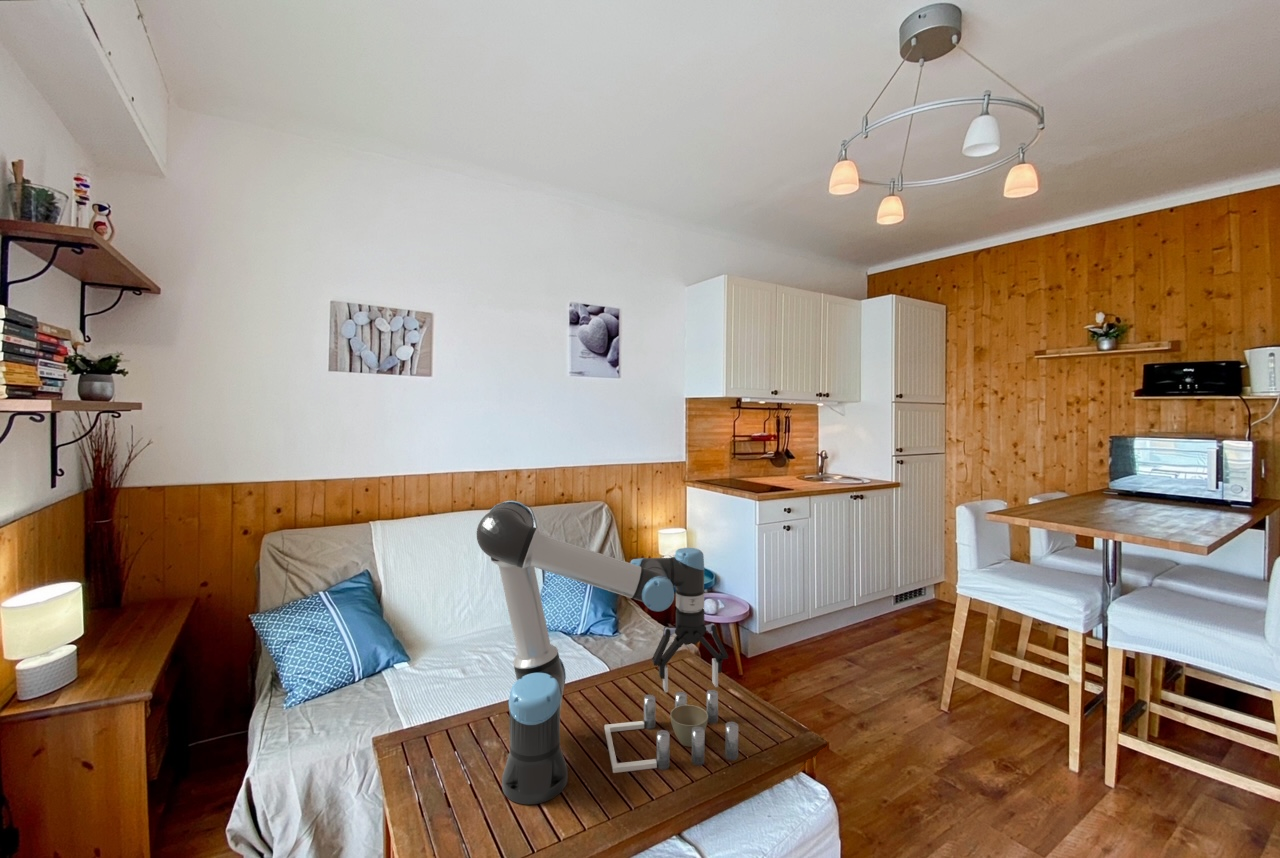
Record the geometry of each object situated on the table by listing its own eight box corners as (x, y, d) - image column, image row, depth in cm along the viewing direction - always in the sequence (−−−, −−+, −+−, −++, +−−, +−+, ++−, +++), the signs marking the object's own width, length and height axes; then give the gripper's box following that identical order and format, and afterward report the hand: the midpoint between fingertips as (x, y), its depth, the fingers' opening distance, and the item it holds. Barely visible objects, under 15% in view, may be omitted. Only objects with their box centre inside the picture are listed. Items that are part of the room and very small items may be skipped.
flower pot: (715, 740, 144) (715, 714, 144) (692, 758, 137) (692, 730, 136) (685, 725, 151) (685, 700, 150) (662, 741, 143) (662, 715, 143)
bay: (613, 772, 131) (613, 768, 131) (604, 729, 149) (604, 724, 149) (656, 767, 133) (656, 763, 133) (643, 725, 151) (643, 720, 151)
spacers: (657, 770, 132) (658, 738, 132) (642, 722, 152) (642, 695, 151) (740, 760, 136) (740, 729, 135) (715, 715, 156) (715, 688, 155)
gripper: (646, 617, 136) (646, 699, 137) (740, 609, 141) (740, 689, 142) (640, 606, 144) (641, 684, 145) (730, 599, 148) (730, 675, 149)
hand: (690, 687), depth 143 cm, fingers open, 13 cm apart
